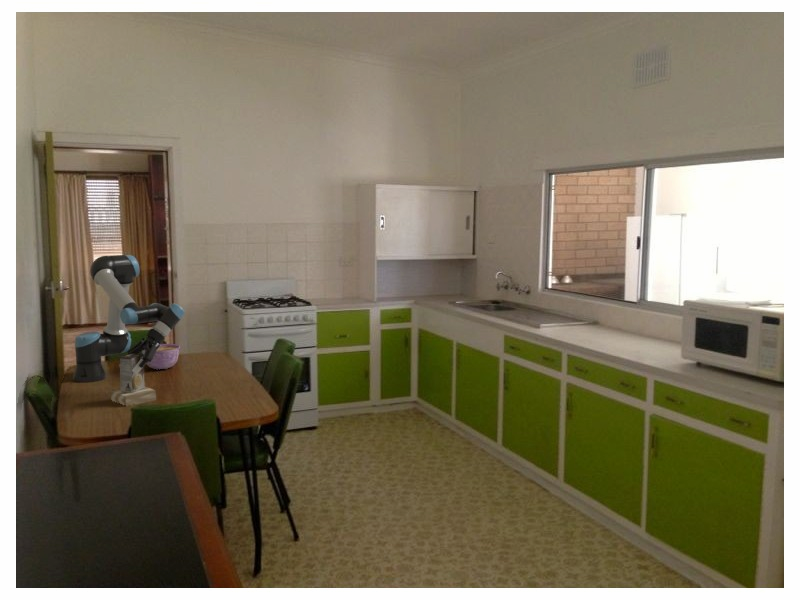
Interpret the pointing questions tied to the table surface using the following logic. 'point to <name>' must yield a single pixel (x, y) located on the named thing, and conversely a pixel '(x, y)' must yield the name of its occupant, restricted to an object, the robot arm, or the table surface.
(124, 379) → the coffee box
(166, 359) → the bowl of food
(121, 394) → the birch block
